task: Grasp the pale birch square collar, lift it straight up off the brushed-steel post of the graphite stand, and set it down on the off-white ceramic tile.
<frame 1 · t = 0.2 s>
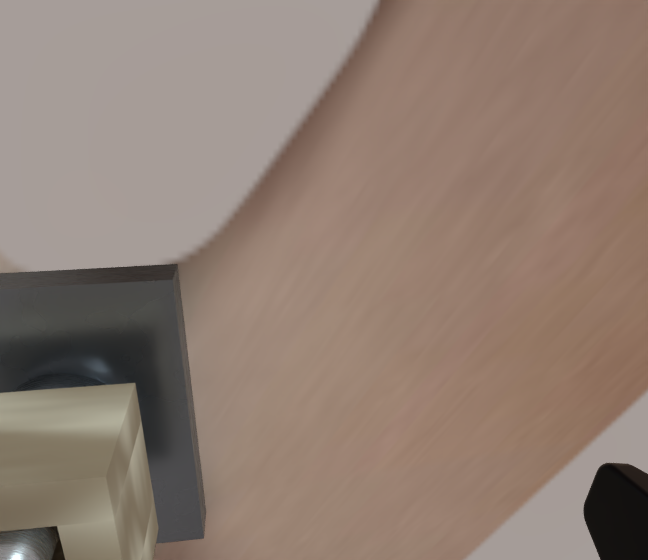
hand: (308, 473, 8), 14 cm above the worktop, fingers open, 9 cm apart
post stand: (79, 409, 24), on the worktop
collar: (53, 468, 20), point 3 cm above the worktop, touching post stand
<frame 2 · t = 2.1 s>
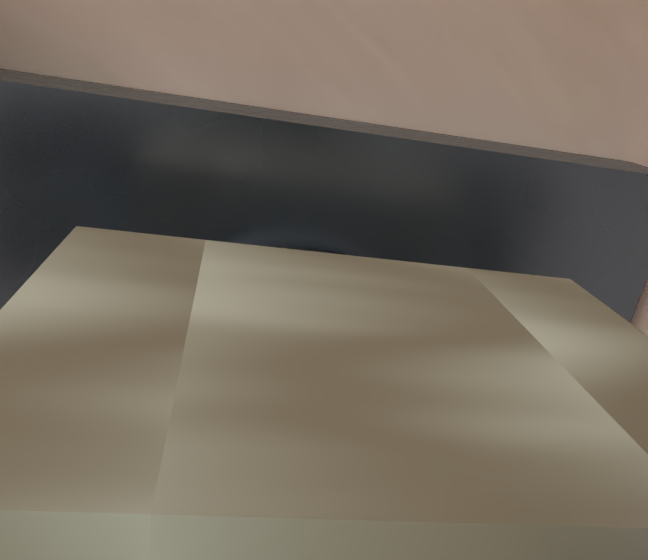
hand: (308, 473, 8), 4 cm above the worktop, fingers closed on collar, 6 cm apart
post stand: (289, 344, 12), on the worktop
collar: (305, 458, 9), point 3 cm above the worktop, touching gripper, post stand
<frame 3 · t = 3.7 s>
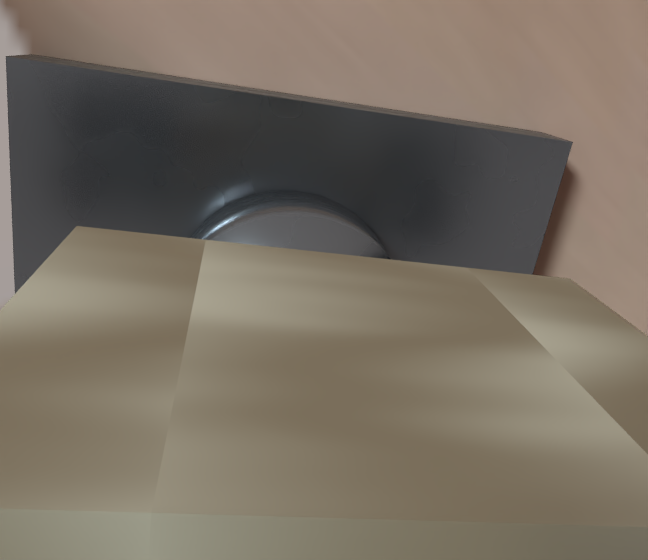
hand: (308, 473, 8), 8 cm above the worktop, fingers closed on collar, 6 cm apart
post stand: (281, 274, 15), on the worktop
collar: (305, 458, 9), point 7 cm above the worktop, touching gripper
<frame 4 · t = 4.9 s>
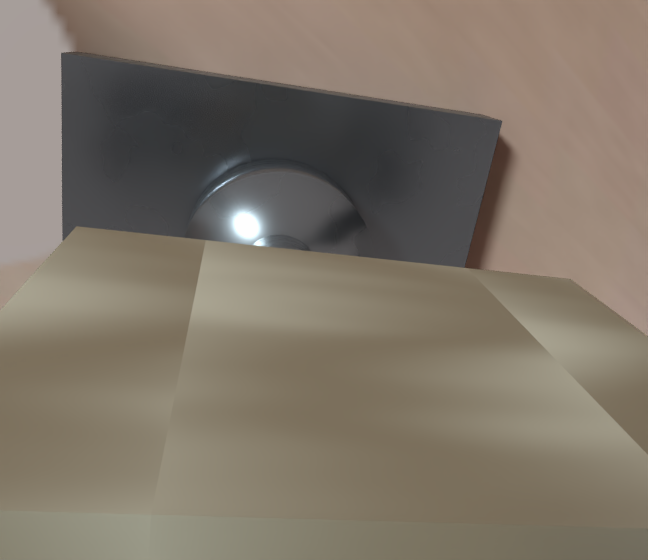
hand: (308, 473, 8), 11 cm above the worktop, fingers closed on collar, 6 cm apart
post stand: (273, 230, 19), on the worktop
collar: (305, 459, 9), point 11 cm above the worktop, touching gripper
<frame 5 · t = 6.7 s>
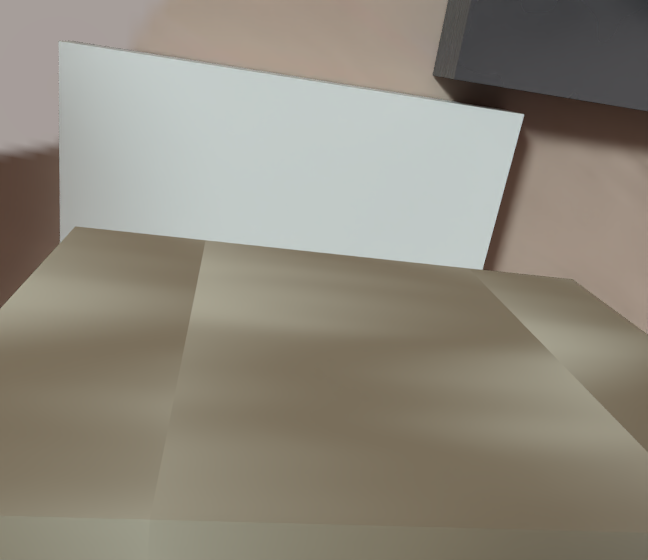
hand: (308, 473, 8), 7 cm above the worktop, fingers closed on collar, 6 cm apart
tile pad: (276, 279, 15), on the worktop
collar: (306, 460, 9), point 7 cm above the worktop, touching gripper
when the fingers open (2 cm above the worktop, at t = 8.1 s): collar stays where it is, resting on tile pad.
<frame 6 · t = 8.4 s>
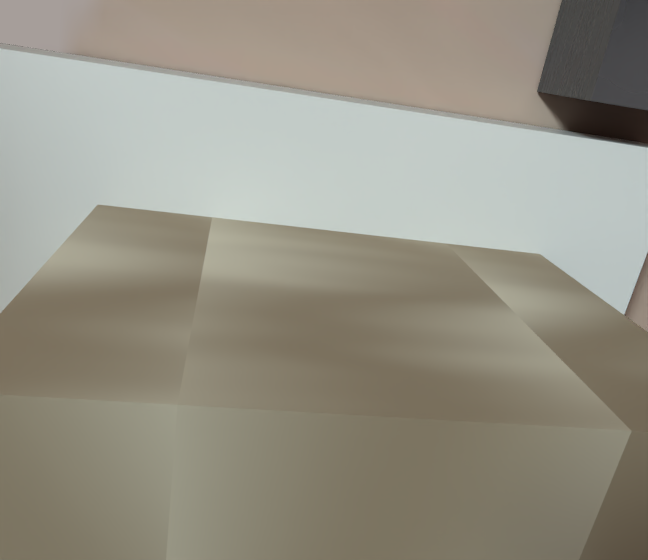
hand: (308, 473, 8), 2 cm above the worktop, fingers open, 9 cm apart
tile pad: (294, 386, 10), on the worktop
collar: (302, 419, 9), point 1 cm above the worktop, touching tile pad
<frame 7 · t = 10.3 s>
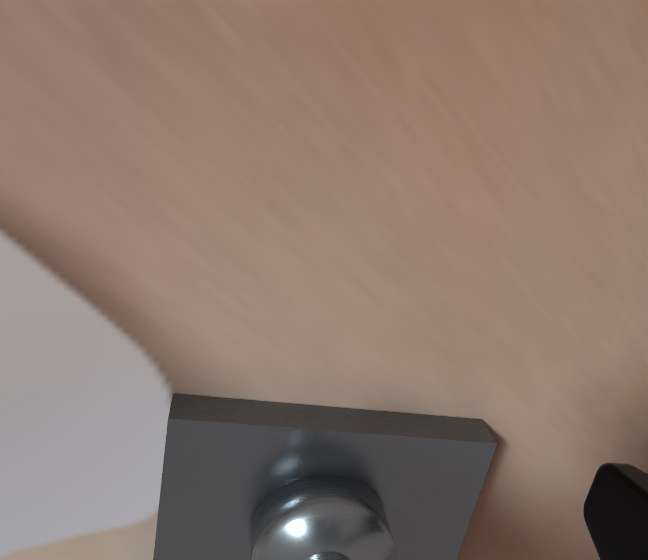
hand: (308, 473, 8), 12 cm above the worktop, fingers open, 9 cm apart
post stand: (314, 500, 24), on the worktop
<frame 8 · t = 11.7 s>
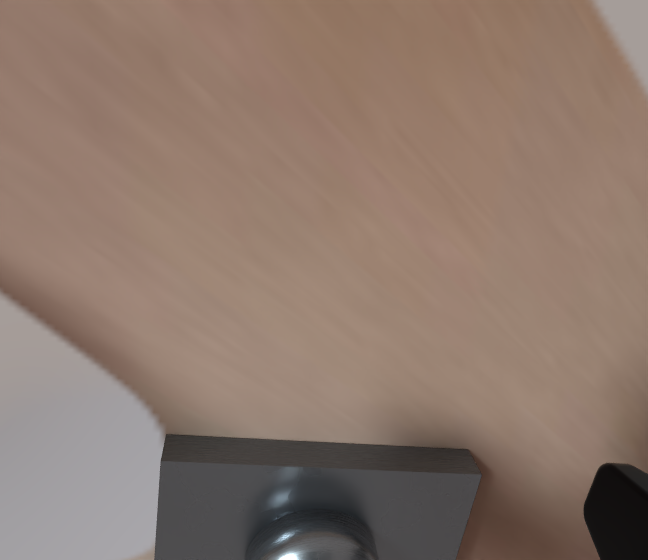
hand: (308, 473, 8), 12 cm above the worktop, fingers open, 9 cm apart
post stand: (307, 530, 24), on the worktop
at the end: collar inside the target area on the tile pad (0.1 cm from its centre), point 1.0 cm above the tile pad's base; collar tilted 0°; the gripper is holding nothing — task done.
